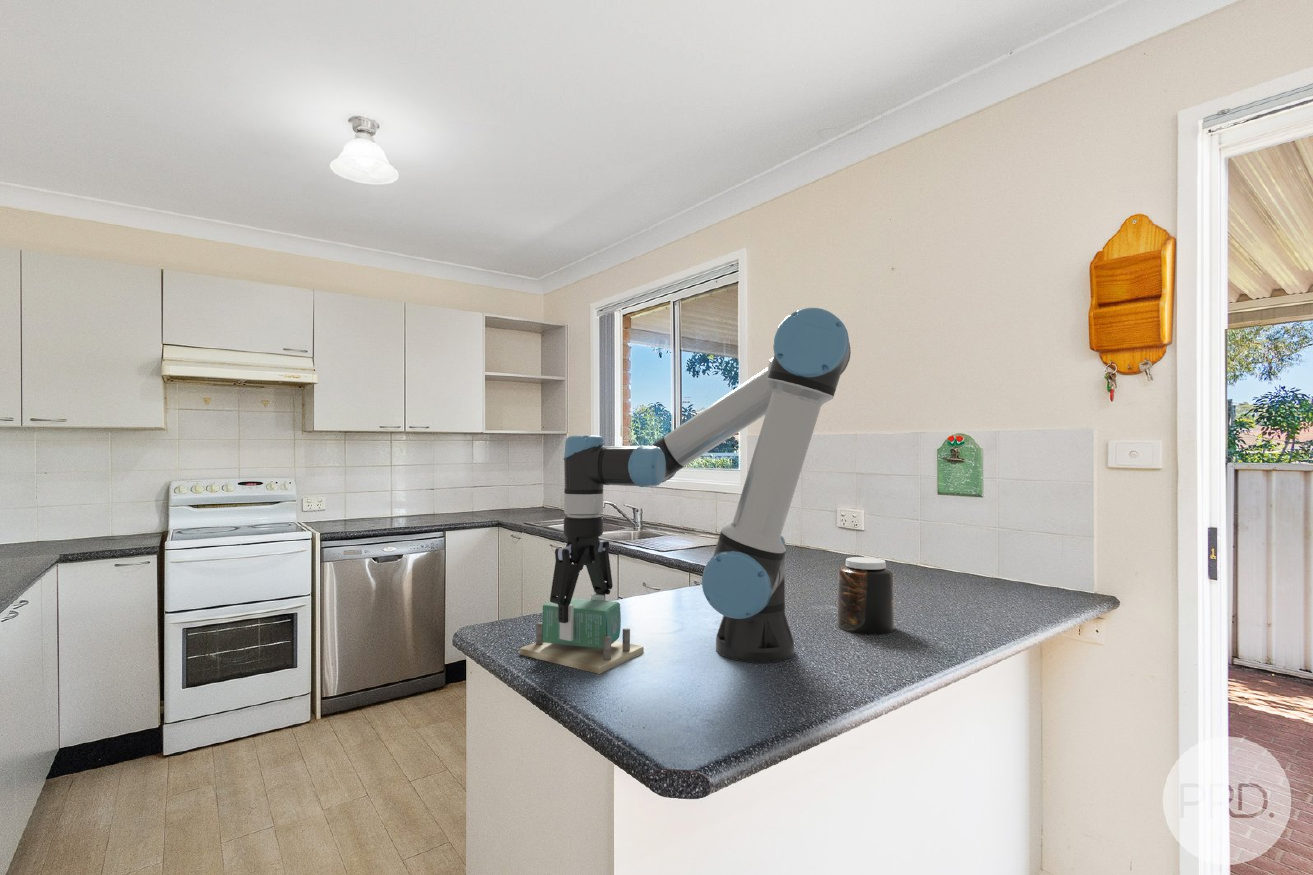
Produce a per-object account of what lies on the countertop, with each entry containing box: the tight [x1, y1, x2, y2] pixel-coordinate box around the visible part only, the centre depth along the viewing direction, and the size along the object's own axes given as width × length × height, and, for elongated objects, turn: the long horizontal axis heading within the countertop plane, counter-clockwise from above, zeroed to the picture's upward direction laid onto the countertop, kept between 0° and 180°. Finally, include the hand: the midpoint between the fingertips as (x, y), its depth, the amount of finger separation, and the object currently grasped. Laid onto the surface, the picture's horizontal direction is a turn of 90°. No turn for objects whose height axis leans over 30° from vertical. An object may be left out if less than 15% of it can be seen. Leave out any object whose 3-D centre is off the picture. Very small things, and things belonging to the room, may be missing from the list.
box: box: [542, 596, 622, 649], centre depth 122 cm, size 7×14×8 cm, turn 73°
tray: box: [519, 621, 645, 675], centre depth 122 cm, size 19×14×5 cm
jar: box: [837, 556, 895, 635], centre depth 141 cm, size 12×12×15 cm
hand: (582, 633), depth 122 cm, fingers open, 9 cm apart
